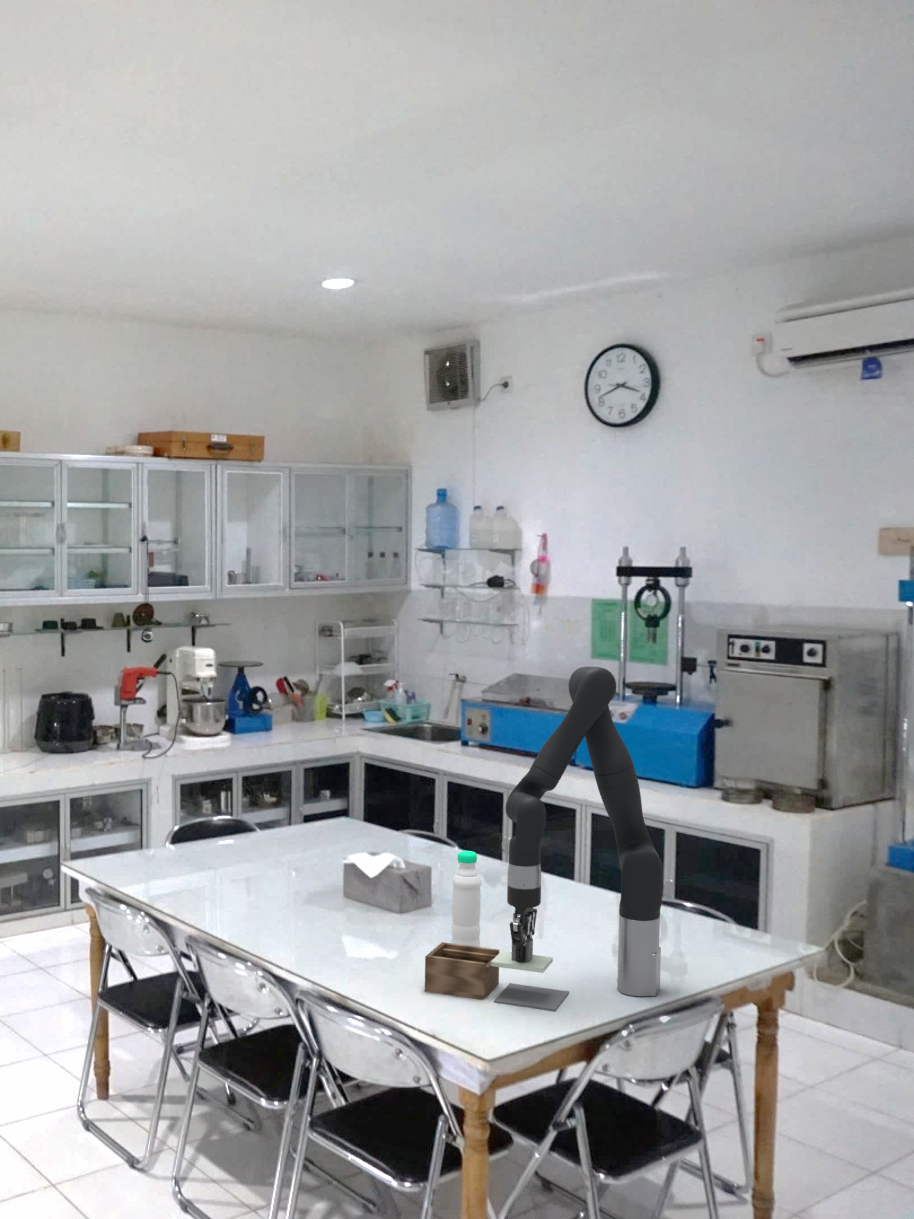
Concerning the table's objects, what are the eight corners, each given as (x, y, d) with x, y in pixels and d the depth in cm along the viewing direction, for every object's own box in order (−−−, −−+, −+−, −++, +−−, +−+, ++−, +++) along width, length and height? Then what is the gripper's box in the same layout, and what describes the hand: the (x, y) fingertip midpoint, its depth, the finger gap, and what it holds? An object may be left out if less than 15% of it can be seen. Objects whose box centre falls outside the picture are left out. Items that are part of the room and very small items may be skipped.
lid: (552, 961, 275) (553, 937, 274) (543, 972, 267) (543, 948, 267) (501, 955, 279) (502, 931, 278) (490, 966, 271) (491, 941, 271)
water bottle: (455, 957, 298) (457, 856, 297) (447, 948, 305) (449, 849, 304) (483, 955, 300) (485, 854, 299) (474, 946, 307) (476, 848, 306)
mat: (569, 993, 276) (569, 991, 276) (555, 1011, 264) (555, 1009, 264) (509, 984, 280) (509, 983, 280) (493, 1002, 269) (493, 1000, 269)
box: (498, 984, 281) (499, 949, 280) (483, 1000, 270) (484, 964, 270) (441, 975, 285) (442, 942, 285) (424, 991, 275) (425, 956, 275)
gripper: (531, 892, 264) (530, 971, 265) (548, 877, 277) (547, 952, 278) (498, 889, 267) (497, 967, 267) (517, 873, 280) (516, 948, 281)
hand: (523, 959), depth 273 cm, fingers closed on lid, 3 cm apart
